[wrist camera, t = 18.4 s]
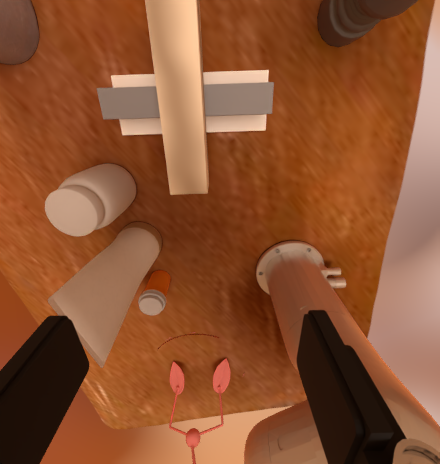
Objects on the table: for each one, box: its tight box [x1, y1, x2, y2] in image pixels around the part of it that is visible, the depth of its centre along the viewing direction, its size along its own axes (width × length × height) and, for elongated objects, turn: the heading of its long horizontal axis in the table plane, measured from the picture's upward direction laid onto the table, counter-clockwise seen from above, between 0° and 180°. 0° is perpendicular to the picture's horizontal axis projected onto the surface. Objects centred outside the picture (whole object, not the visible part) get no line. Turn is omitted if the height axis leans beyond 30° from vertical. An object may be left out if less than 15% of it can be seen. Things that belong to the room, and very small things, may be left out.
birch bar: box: [145, 0, 209, 195], centre depth 23 cm, size 4×18×5 cm, turn 2°
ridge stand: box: [97, 70, 274, 135], centre depth 29 cm, size 20×7×8 cm, turn 92°
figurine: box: [157, 332, 245, 464], centre depth 39 cm, size 15×26×35 cm, turn 91°
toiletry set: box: [45, 163, 171, 368], centre depth 32 cm, size 25×8×20 cm, turn 16°
